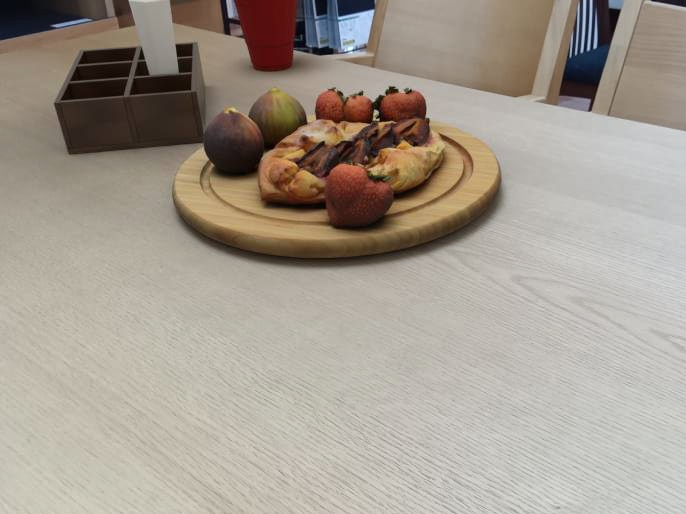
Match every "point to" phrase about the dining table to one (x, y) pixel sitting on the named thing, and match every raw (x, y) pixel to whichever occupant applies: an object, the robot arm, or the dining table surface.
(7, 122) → the dining table surface
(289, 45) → the plastic cup
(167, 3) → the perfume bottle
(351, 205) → the wooden plate
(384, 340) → the dining table surface
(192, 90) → the rack
